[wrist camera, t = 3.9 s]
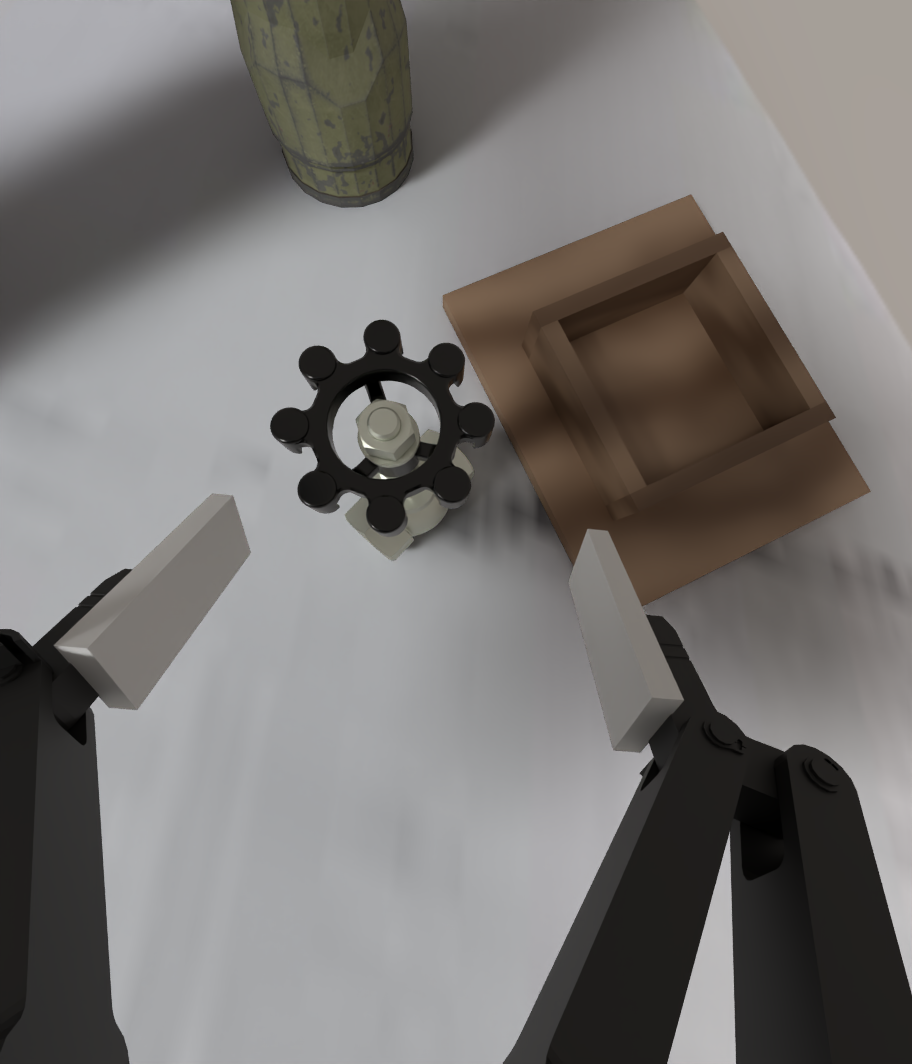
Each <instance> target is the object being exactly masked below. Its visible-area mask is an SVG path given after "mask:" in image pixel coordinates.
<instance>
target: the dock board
mask: <svg viewBox="0 0 912 1064" xmlns="http://www.w3.org/2000/svg"><path fill="white" fill-rule="evenodd" d="M443 308H444V310H445V312H446V314H447V316H448V318H449V320H450V322H451V324H452V326H453V328H454V330H455V332H456V334H457V336H458V338H459V340H460V342H461V344H462V346H463V348H464V350H465V352H466V354H467V356H468V358H469V360H470V362H471V364H472V366H473V368H474V370H475V372H476V374H477V376H478V378H479V380H480V382H481V384H482V386H483V388H484V390H485V392H486V394H487V396H488V398H489V400H490V402H491V403H492V405H493V407H494V409H495V411H496V413H497V415H498V417H499V419H500V421H501V423H502V425H503V427H504V429H505V431H506V433H507V435H508V437H509V439H510V441H511V443H512V445H513V447H514V449H515V451H516V453H517V455H518V457H519V459H520V461H521V463H522V465H523V467H524V469H525V471H526V473H527V475H528V477H529V479H530V481H531V483H532V485H533V487H534V489H535V491H536V493H537V495H538V497H539V499H540V501H541V503H542V505H543V507H544V509H545V511H546V513H547V515H548V517H549V519H550V521H551V523H552V525H553V527H554V529H555V531H556V533H557V535H558V537H559V539H560V541H561V543H562V545H563V547H564V548H565V550H566V552H567V554H568V556H569V558H570V560H571V562H572V564H573V566H574V565H575V562H576V559H577V556H578V554H579V551H580V548H581V545H582V543H583V540H584V537H585V534H586V532H587V529H594V530H605V531H608V532H609V534H610V537H611V539H612V541H613V543H614V546H615V548H616V550H617V552H618V554H619V557H620V559H621V561H622V563H623V566H624V568H625V570H626V572H627V574H628V577H629V579H630V581H631V583H632V586H633V588H634V590H635V592H636V594H637V597H638V599H639V601H640V603H641V606H644V605H646V604H648V603H650V602H652V601H654V600H656V599H658V598H660V597H662V596H664V595H666V594H668V593H670V592H672V591H674V590H676V589H678V588H680V587H682V586H684V585H686V584H688V583H690V582H692V581H694V580H696V579H698V578H700V577H702V576H704V575H706V574H708V573H710V572H712V571H714V570H716V569H718V568H720V567H722V566H724V565H726V564H728V563H730V562H732V561H734V560H736V559H738V558H740V557H742V556H744V555H746V554H748V553H750V552H752V551H754V550H756V549H758V548H759V547H761V546H763V545H765V544H767V543H769V542H771V541H773V540H775V539H777V538H779V537H781V536H783V535H785V534H787V533H789V532H791V531H793V530H795V529H797V528H799V527H801V526H803V525H805V524H807V523H809V522H811V521H813V520H815V519H817V518H819V517H821V516H823V515H825V514H827V513H829V512H831V511H833V510H835V509H837V508H839V507H841V506H843V505H845V504H847V503H849V502H851V501H853V500H855V499H857V498H859V497H861V496H863V495H865V494H867V493H869V492H871V491H870V489H869V488H868V486H867V484H866V483H865V481H864V479H863V478H862V476H861V474H860V473H859V471H858V469H857V468H856V466H855V465H854V463H853V461H852V460H851V458H850V456H849V455H848V453H847V451H846V450H845V448H844V446H843V445H842V443H841V441H840V440H839V438H838V436H837V435H836V433H835V431H834V430H833V428H832V426H831V425H830V423H829V422H828V421H830V420H832V419H834V418H836V417H835V415H834V414H833V412H832V410H831V409H830V407H829V405H828V404H827V402H826V400H825V399H824V397H823V396H822V394H821V392H820V391H819V389H818V387H817V386H816V384H815V382H814V381H813V379H812V377H811V376H810V374H809V373H808V371H807V369H806V368H805V366H804V364H803V363H802V361H801V359H800V358H799V356H798V354H797V353H796V351H795V349H794V348H793V346H792V345H791V343H790V341H789V340H788V338H787V336H786V335H785V333H784V331H783V330H782V328H781V326H780V325H779V323H778V322H777V320H776V318H775V317H774V315H773V313H772V312H771V310H770V308H769V307H768V305H767V303H766V302H765V300H764V298H763V297H762V295H761V294H760V292H759V290H758V289H757V287H756V285H755V284H754V282H753V280H752V279H751V277H750V275H749V274H748V272H747V270H746V269H745V267H744V266H743V264H742V262H741V261H740V259H739V257H738V256H737V254H736V252H735V251H734V249H733V247H732V246H731V244H730V243H729V241H728V239H727V238H726V236H725V234H724V233H723V232H721V233H719V234H716V235H715V233H714V231H713V230H712V228H711V226H710V225H709V223H708V221H707V220H706V218H705V216H704V215H703V213H702V212H701V210H700V208H699V207H698V205H697V203H696V202H695V200H694V198H693V197H692V195H688V196H686V197H684V198H681V199H679V200H676V201H674V202H671V203H669V204H666V205H664V206H661V207H659V208H656V209H654V210H652V211H649V212H647V213H644V214H642V215H639V216H637V217H634V218H632V219H629V220H627V221H625V222H622V223H620V224H617V225H615V226H612V227H610V228H607V229H605V230H602V231H600V232H598V233H595V234H593V235H590V236H588V237H585V238H583V239H580V240H578V241H575V242H573V243H570V244H568V245H566V246H563V247H561V248H558V249H556V250H553V251H551V252H548V253H546V254H543V255H541V256H539V257H536V258H534V259H531V260H529V261H526V262H524V263H521V264H519V265H516V266H514V267H511V268H509V269H507V270H504V271H502V272H499V273H497V274H494V275H492V276H489V277H487V278H484V279H482V280H480V281H477V282H475V283H472V284H470V285H467V286H465V287H462V288H460V289H457V290H455V291H452V292H450V293H448V294H445V295H443Z"/></svg>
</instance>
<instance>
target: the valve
mask: <svg viewBox="0 0 912 1064" xmlns="http://www.w3.org/2000/svg"><path fill="white" fill-rule="evenodd" d="M363 338H364V343H365V346H366V353H365V355H364V356H363V357H362V358H360V359H358V360H356V361H353V362H351V363H347V364H344V363H341V362H339V361H338V360H337V359H336V357H335V355H334V354H333V352H332V351H331V350H329V349H328V348H326V347H324V346H312V347H309V348H307V349H306V350H305V351H304V352H303V353H302V354H301V356H300V358H299V369H300V371H301V373H302V374H303V376H304V377H305V379H306V380H307V382H308V383H309V385H310V386H311V388H312V389H313V390H317V388H318V393H317V395H316V398H315V400H314V402H313V404H312V406H311V407H310V408H309V409H307V410H304V411H301V410H299V409H297V408H292V407H290V408H284V409H281V410H279V411H278V412H277V413H276V414H275V415H274V416H273V418H272V420H271V424H270V429H271V432H272V435H273V436H274V438H275V439H276V440H278V441H279V442H280V443H281V444H282V445H283V446H285V447H286V448H287V449H288V450H290V451H291V452H293V453H298V454H301V453H302V447H311V448H312V449H313V451H314V453H315V456H316V458H317V461H318V464H317V467H316V469H315V470H314V471H311V472H309V473H307V474H305V475H304V476H303V477H302V478H301V480H300V482H299V484H298V496H299V498H300V500H301V501H302V502H303V503H304V504H305V505H306V506H308V507H310V508H312V509H313V510H315V511H317V512H319V513H324V514H327V513H332V512H334V511H336V510H337V509H338V508H340V507H339V505H338V504H337V502H338V501H339V499H340V497H341V496H342V495H343V494H345V493H348V492H351V493H353V494H355V495H358V496H360V497H361V498H360V500H359V501H358V502H357V503H356V504H355V505H354V506H353V507H352V508H351V509H350V510H349V511H348V512H347V513H346V514H345V517H346V520H347V521H348V522H349V523H350V524H351V525H352V526H353V527H354V528H355V529H356V530H357V531H358V532H359V533H360V534H361V535H362V536H363V537H364V538H365V539H366V540H367V541H368V542H369V543H371V544H372V545H373V546H374V547H375V548H376V549H377V550H379V551H380V552H381V553H382V554H383V555H384V556H386V557H387V558H388V559H389V560H391V561H394V560H396V559H397V558H398V557H399V556H400V555H401V554H402V553H403V552H404V551H405V550H406V548H407V547H408V546H409V545H410V544H411V543H412V542H413V541H414V539H413V536H417V535H420V534H423V533H425V532H427V531H429V530H431V529H432V528H434V527H435V526H436V525H437V524H438V523H439V522H440V521H441V520H442V519H443V517H444V516H445V514H446V512H447V510H448V509H455V508H458V507H460V506H462V505H463V504H464V503H465V502H466V501H467V499H468V496H469V493H470V489H471V479H472V477H473V475H474V469H473V467H472V465H471V463H470V462H469V460H468V459H467V457H466V456H465V455H464V454H463V453H462V452H461V451H460V449H459V448H458V447H457V445H458V444H459V443H461V442H470V443H473V447H474V448H479V447H482V446H483V445H485V444H486V443H487V442H488V441H489V439H490V437H491V433H492V430H493V427H494V423H495V418H494V414H493V412H492V411H491V409H490V408H489V407H488V406H486V405H485V404H482V403H478V402H473V403H469V404H467V405H465V406H460V405H458V404H457V403H455V401H454V400H453V398H452V395H451V393H450V391H449V387H450V386H451V385H452V384H453V383H454V384H455V385H456V386H457V387H459V386H460V384H461V383H462V381H463V376H464V365H465V357H464V354H463V352H462V351H461V349H460V348H459V347H457V346H456V345H454V344H451V343H441V344H438V345H436V346H435V347H434V348H433V349H432V350H431V351H430V353H429V356H428V358H427V359H426V360H425V361H422V362H417V361H414V360H411V359H408V358H405V357H403V356H402V354H403V348H402V342H401V336H400V332H399V330H398V328H397V327H396V326H395V325H394V324H393V323H392V322H390V321H387V320H377V321H374V322H372V323H370V324H369V325H368V326H367V327H366V329H365V331H364V336H363ZM381 381H398V382H402V383H405V384H408V385H410V386H412V387H414V388H416V389H417V390H419V391H420V392H421V393H423V394H424V395H425V396H426V397H427V398H428V399H429V401H430V402H431V403H432V404H433V406H434V407H435V409H436V412H437V414H438V417H439V420H440V433H438V432H436V431H432V430H427V431H426V432H425V433H424V434H423V435H422V436H421V437H420V434H419V429H418V426H417V423H416V422H415V420H414V419H413V417H412V416H411V415H410V414H408V411H407V408H406V405H403V404H400V403H396V402H393V401H388V400H386V397H385V394H384V391H383V388H382V384H381ZM362 386H365V388H366V391H367V393H368V396H369V399H370V402H371V404H370V405H368V406H367V407H366V408H365V409H364V410H363V411H362V412H361V414H360V415H359V416H358V417H357V418H356V423H357V427H358V443H359V446H360V449H361V451H362V452H363V454H364V455H365V457H366V458H365V459H364V460H363V461H362V462H361V463H360V464H359V465H357V466H356V467H355V468H353V469H352V470H351V469H350V468H349V467H347V466H346V465H344V464H343V462H342V461H341V459H340V458H339V456H338V455H337V452H336V450H335V447H334V443H333V435H332V430H333V424H334V419H335V416H336V414H337V411H338V409H339V407H340V406H341V404H342V403H343V401H344V400H345V399H346V398H347V397H348V396H349V395H350V394H351V393H352V392H354V391H355V390H357V389H359V388H361V387H362Z"/></svg>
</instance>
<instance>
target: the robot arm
mask: <svg viewBox="0 0 912 1064" xmlns="http://www.w3.org/2000/svg"><path fill="white" fill-rule="evenodd" d="M250 553H251V551H250V548H249V545H248V542H247V538H246V535H245V532H244V529H243V526H242V523H241V519H240V516H239V513H238V510H237V507H236V503H235V500H234V497H233V496H232V495H221V494H211V495H210V496H209V497H208V498H207V499H206V500H205V501H204V502H203V503H202V504H201V505H200V506H199V507H198V508H196V509H195V510H194V511H193V512H192V513H191V514H190V515H189V516H188V517H187V518H186V519H185V520H184V521H183V522H182V523H181V524H180V525H179V526H178V527H177V528H176V529H175V530H174V531H172V532H171V533H170V534H169V535H168V536H167V537H166V538H165V539H164V540H163V541H162V542H161V543H160V544H159V545H158V546H157V547H156V548H155V549H154V550H153V551H152V552H151V553H149V554H148V555H147V556H146V557H145V558H144V559H143V560H142V561H141V562H140V563H139V564H138V565H137V566H136V567H135V568H134V569H124V570H122V571H120V572H118V573H117V574H115V575H113V576H111V577H110V578H108V579H106V580H105V581H104V582H102V583H101V584H100V585H99V586H98V587H97V588H96V589H95V590H94V591H93V592H91V595H90V596H87V597H86V598H85V599H84V600H83V601H82V602H81V603H79V604H78V605H79V606H78V607H75V608H74V609H73V610H72V611H71V612H70V613H69V614H67V615H66V616H65V617H64V618H63V619H62V620H61V621H60V622H59V623H58V624H56V625H55V626H54V627H53V628H52V629H51V630H50V631H49V632H48V633H47V634H46V635H44V636H43V637H42V638H41V639H40V640H39V641H38V642H37V643H36V644H35V645H34V646H31V645H30V644H29V643H28V642H27V641H26V640H25V639H24V638H23V637H22V635H21V634H20V633H19V632H16V631H14V630H12V629H0V1064H129V1057H128V1050H127V1046H126V1043H125V1040H124V1036H123V1035H122V1033H121V1031H120V1029H119V1028H118V1026H117V1024H116V1022H115V1019H114V1016H113V1010H112V999H111V982H110V966H109V950H108V934H107V917H106V901H105V885H104V869H103V852H102V836H101V820H100V804H99V787H98V771H97V755H96V739H95V722H94V714H93V712H92V709H91V708H90V706H91V704H92V703H93V702H94V701H95V700H96V698H97V697H98V696H99V697H100V698H101V699H102V700H103V701H104V703H105V704H106V705H107V706H108V707H109V708H120V709H132V710H138V708H139V707H140V706H141V704H142V703H143V701H144V700H145V699H146V697H147V696H148V694H149V693H150V692H151V690H152V689H153V688H154V686H155V685H156V683H157V682H158V681H159V679H160V678H161V676H162V675H163V674H164V672H165V671H166V670H167V668H168V667H169V665H170V664H171V663H172V661H173V660H174V658H175V657H176V656H177V654H178V653H179V652H180V650H181V649H182V647H183V646H184V645H185V643H186V642H187V641H188V639H189V638H190V636H191V635H192V634H193V632H194V631H195V629H196V628H197V627H198V625H199V624H200V623H201V621H202V620H203V618H204V617H205V616H206V614H207V613H208V611H209V610H210V609H211V607H212V606H213V605H214V603H215V602H216V600H217V599H218V598H219V596H220V595H221V593H222V592H223V591H224V589H225V588H226V587H227V585H228V584H229V582H230V581H231V580H232V578H233V577H234V575H235V574H236V573H237V571H238V570H239V569H240V567H241V566H242V564H243V563H244V562H245V560H246V559H247V557H248V556H249V555H250ZM568 583H569V587H570V590H571V594H572V598H573V601H574V605H575V609H576V613H577V616H578V620H579V624H580V628H581V631H582V635H583V639H584V643H585V646H586V650H587V654H588V658H589V661H590V665H591V669H592V673H593V676H594V680H595V684H596V688H597V691H598V695H599V699H600V703H601V706H602V710H603V714H604V718H605V721H606V725H607V729H608V733H609V736H610V740H611V744H612V748H613V750H616V751H628V752H641V751H642V750H643V749H644V748H645V746H646V745H647V744H648V743H649V744H650V747H651V750H652V753H653V756H654V758H653V759H652V760H651V761H650V762H649V763H648V764H647V766H646V767H645V768H644V769H643V770H642V771H641V772H640V774H641V775H642V776H643V777H642V779H641V782H640V784H639V786H638V788H637V790H636V792H635V794H634V796H633V798H632V801H631V803H630V805H629V807H628V809H627V811H626V813H625V815H624V817H623V819H622V822H621V824H620V826H619V828H618V830H617V832H616V834H615V836H614V838H613V841H612V843H611V845H610V847H609V849H608V851H607V853H606V855H605V857H604V859H603V862H602V864H601V866H600V868H599V870H598V872H597V874H596V876H595V878H594V880H593V883H592V885H591V887H590V889H589V891H588V893H587V895H586V897H585V899H584V902H583V904H582V906H581V908H580V910H579V912H578V914H577V916H576V918H575V920H574V923H573V925H572V927H571V929H570V931H569V933H568V935H567V937H566V939H565V942H564V944H563V946H562V948H561V950H560V952H559V954H558V956H557V958H556V960H555V963H554V965H553V967H552V969H551V971H550V973H549V975H548V977H547V979H546V981H545V984H544V986H543V988H542V990H541V992H540V994H539V996H538V998H537V1000H536V1003H535V1005H534V1007H533V1009H532V1011H531V1013H530V1015H529V1017H528V1019H527V1021H526V1024H525V1026H524V1028H523V1030H522V1032H521V1034H520V1036H519V1038H518V1040H517V1042H516V1044H515V1046H514V1047H513V1049H512V1051H511V1052H510V1054H509V1055H508V1057H507V1058H506V1059H505V1061H504V1062H503V1064H667V1062H668V1058H669V1054H670V1051H671V1047H672V1043H673V1039H674V1036H675V1032H676V1028H677V1025H678V1021H679V1017H680V1014H681V1010H682V1006H683V1002H684V999H685V995H686V991H687V988H688V984H689V980H690V976H691V973H692V969H693V965H694V962H695V958H696V954H697V951H698V947H699V943H700V939H701V936H702V932H703V928H704V925H705V921H706V917H707V913H708V910H709V906H710V902H711V899H712V895H713V891H714V887H715V884H716V880H717V876H718V873H719V869H720V865H721V862H722V858H723V854H724V850H725V847H726V843H727V839H728V836H729V832H730V852H731V889H732V927H733V964H734V1001H735V1038H736V1064H912V994H911V990H910V986H909V982H908V979H907V975H906V971H905V968H904V964H903V960H902V957H901V953H900V949H899V945H898V942H897V938H896V934H895V931H894V927H893V923H892V920H891V916H890V912H889V908H888V905H887V901H886V897H885V894H884V890H883V886H882V883H881V879H880V875H879V871H878V868H877V864H876V860H875V857H874V853H873V849H872V846H871V842H870V838H869V834H868V831H867V827H866V823H865V820H864V816H863V812H862V808H861V805H860V801H859V797H858V794H857V791H856V788H855V786H854V784H853V782H852V780H851V778H850V777H849V776H848V775H847V773H846V772H845V771H844V770H843V768H842V767H841V766H840V765H839V764H837V763H836V762H835V761H834V760H833V759H832V758H831V757H829V756H828V755H826V754H825V753H823V752H821V751H819V750H818V749H816V748H813V747H810V746H807V745H804V744H803V745H793V746H792V747H791V748H789V749H788V750H787V751H785V752H784V751H781V750H779V749H776V748H774V747H771V746H768V745H766V744H763V743H761V742H758V741H755V740H753V739H751V738H749V737H746V736H745V735H744V733H743V732H742V731H741V730H740V728H739V727H738V726H737V725H736V724H735V723H734V722H733V721H731V720H730V719H729V718H728V717H727V716H725V715H723V714H721V713H719V712H717V710H716V709H715V707H714V706H713V704H712V702H711V700H710V698H709V696H708V694H707V692H706V690H705V688H704V686H703V684H702V682H701V680H700V678H699V676H698V674H697V672H696V670H695V668H694V666H693V664H692V662H691V661H689V656H688V654H687V652H686V650H685V648H683V645H682V643H681V641H680V639H679V637H678V635H677V633H676V631H675V629H674V628H673V627H672V626H671V625H670V624H669V623H668V622H667V621H666V620H665V619H664V618H663V617H662V616H651V615H646V614H645V612H644V610H643V608H642V606H641V603H640V601H639V599H638V597H637V594H636V592H635V590H634V588H633V586H632V583H631V581H630V579H629V577H628V574H627V572H626V570H625V568H624V566H623V563H622V561H621V559H620V557H619V554H618V552H617V550H616V548H615V546H614V543H613V541H612V539H611V537H610V534H609V532H608V531H605V530H594V529H587V532H586V534H585V537H584V540H583V543H582V545H581V548H580V551H579V554H578V556H577V559H576V562H575V565H574V567H573V570H572V573H571V576H570V578H569V581H568Z"/></svg>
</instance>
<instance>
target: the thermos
mask: <svg viewBox="0 0 912 1064" xmlns="http://www.w3.org/2000/svg"><path fill="white" fill-rule="evenodd" d="M230 1H231V5H232V10H233V15H234V20H235V25H236V30H237V34H238V39H239V44H240V49H241V52H242V55H243V57H244V60H245V62H246V65H247V68H248V70H249V73H250V76H251V78H252V81H253V83H254V86H255V89H256V91H257V94H258V96H259V99H260V102H261V104H262V107H263V109H264V112H265V115H266V117H267V120H268V122H269V125H270V127H271V130H272V132H273V134H274V136H275V137H276V138H277V139H278V141H279V142H280V144H281V146H282V152H283V155H284V158H285V160H286V163H287V165H288V168H289V170H290V173H291V176H292V178H293V179H294V180H295V182H296V183H297V184H298V185H299V186H300V187H301V188H302V190H303V191H304V192H305V193H307V194H309V195H310V196H312V197H314V198H315V199H317V200H319V201H320V202H322V203H326V204H330V205H334V206H338V207H363V206H366V205H369V204H372V203H375V202H378V201H381V200H383V199H384V198H386V197H387V196H389V195H390V194H391V193H393V192H394V191H396V190H397V189H398V188H399V186H400V185H401V184H402V182H403V181H404V180H405V179H406V177H407V176H408V174H409V171H410V167H411V164H412V161H413V146H412V131H411V129H410V120H411V115H412V97H411V82H410V67H409V52H408V37H407V24H406V18H405V15H404V11H403V8H402V5H401V1H400V0H230Z"/></svg>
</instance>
